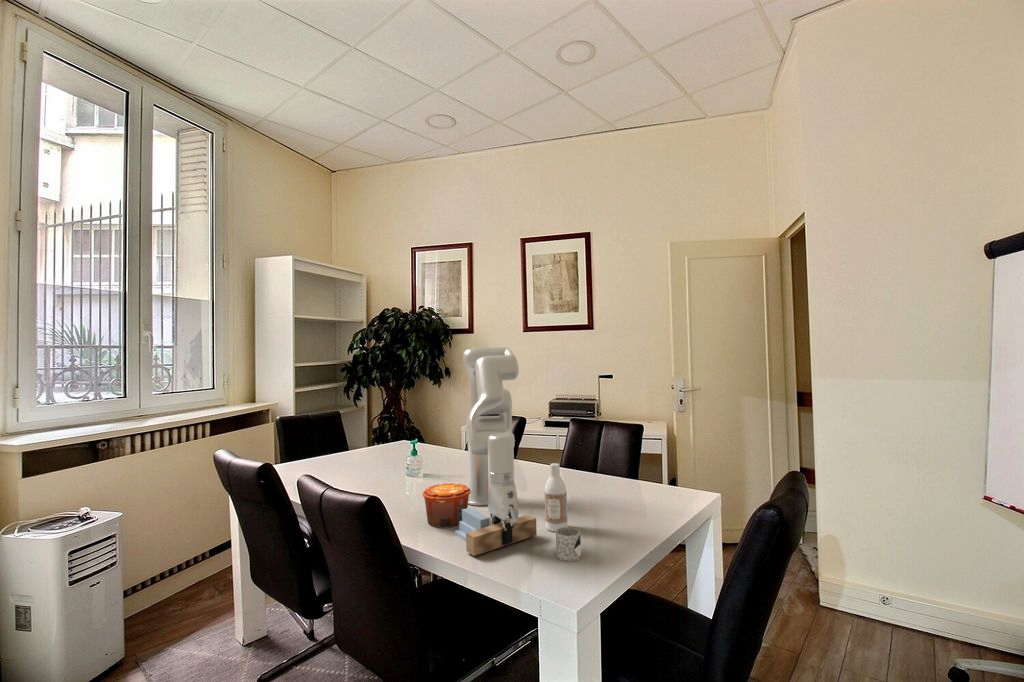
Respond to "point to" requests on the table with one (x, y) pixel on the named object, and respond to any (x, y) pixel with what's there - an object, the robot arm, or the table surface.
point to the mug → (568, 544)
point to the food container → (446, 504)
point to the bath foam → (555, 500)
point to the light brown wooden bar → (499, 535)
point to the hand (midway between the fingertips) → (502, 539)
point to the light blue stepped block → (471, 522)
